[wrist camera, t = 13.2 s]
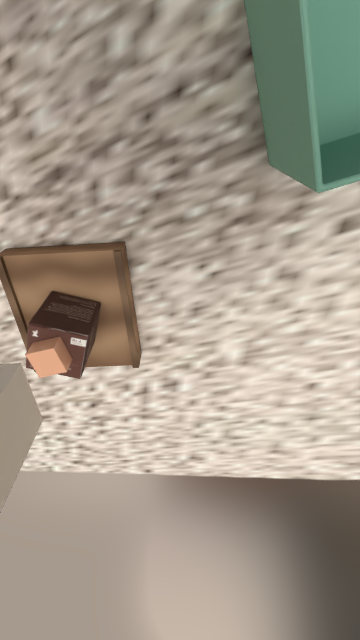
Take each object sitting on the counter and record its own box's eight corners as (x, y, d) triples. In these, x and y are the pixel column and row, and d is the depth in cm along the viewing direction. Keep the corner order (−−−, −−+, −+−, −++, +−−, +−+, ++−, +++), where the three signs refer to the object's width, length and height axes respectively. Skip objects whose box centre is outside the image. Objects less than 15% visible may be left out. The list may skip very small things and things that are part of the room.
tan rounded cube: (33, 342, 34) (25, 354, 32) (60, 336, 34) (53, 348, 32) (46, 365, 35) (39, 377, 34) (72, 359, 35) (67, 371, 33)
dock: (5, 248, 39) (-8, 258, 36) (124, 242, 39) (120, 251, 36) (43, 357, 47) (34, 372, 45) (141, 353, 47) (138, 367, 44)
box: (47, 330, 42) (23, 368, 36) (51, 289, 39) (26, 322, 33) (95, 341, 43) (80, 380, 37) (103, 301, 40) (88, 336, 34)
